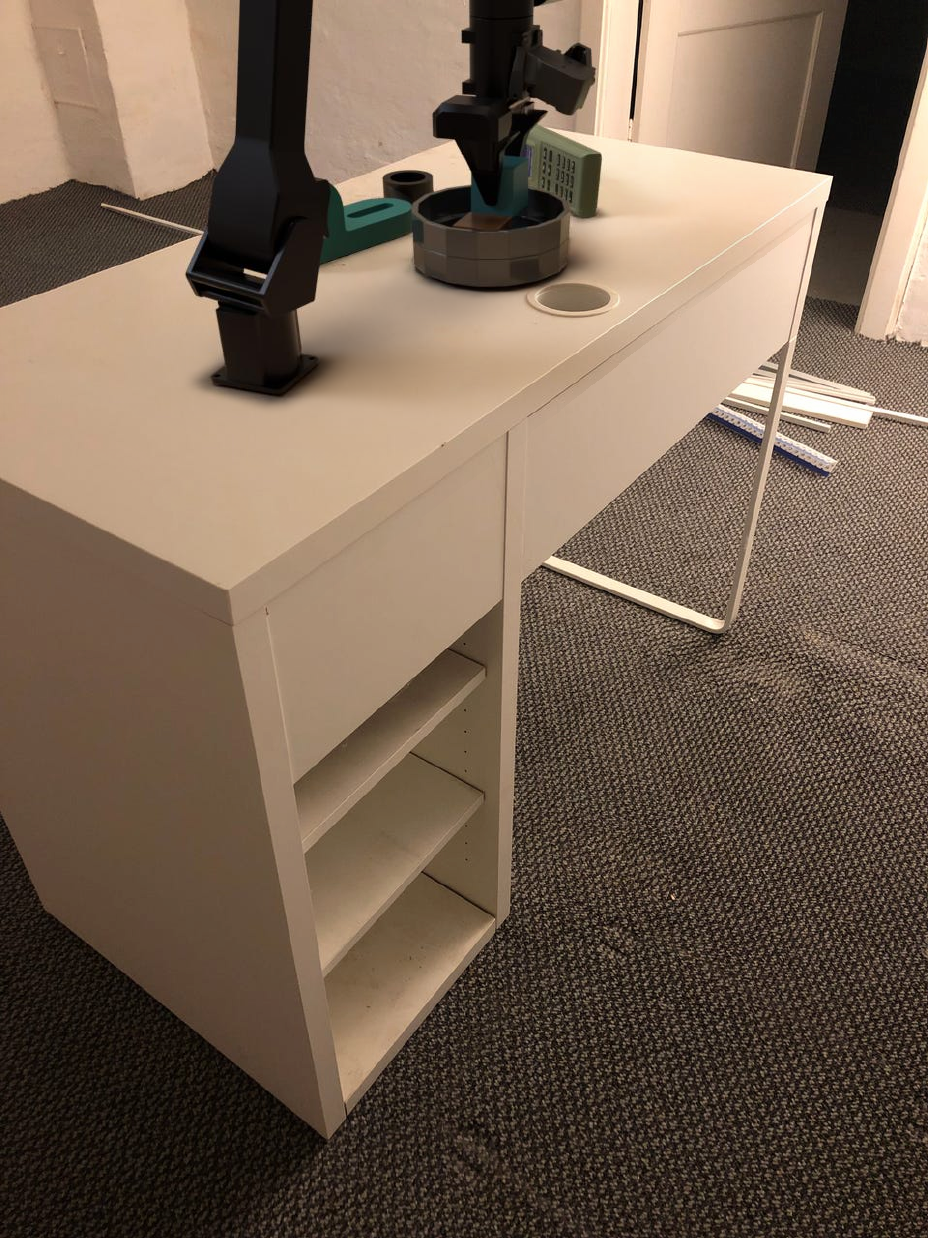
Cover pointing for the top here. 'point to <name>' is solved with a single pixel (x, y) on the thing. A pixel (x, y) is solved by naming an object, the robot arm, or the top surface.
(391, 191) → the duct tape
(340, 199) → the bracket
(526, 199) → the teal block
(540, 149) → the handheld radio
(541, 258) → the faceted round tray
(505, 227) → the walnut block
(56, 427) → the top surface
